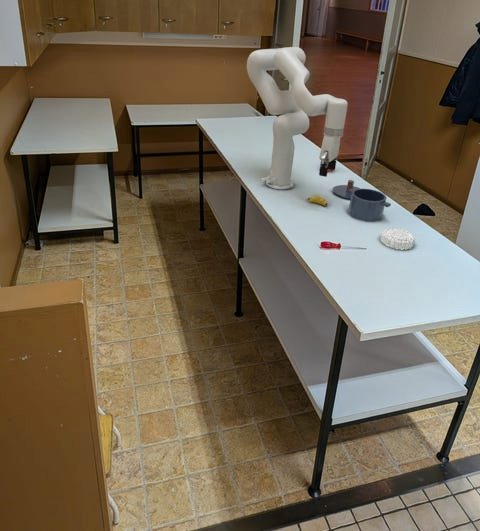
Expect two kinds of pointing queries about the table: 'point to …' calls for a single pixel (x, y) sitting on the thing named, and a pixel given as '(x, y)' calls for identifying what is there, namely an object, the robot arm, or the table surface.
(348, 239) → the table surface
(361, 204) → the pot
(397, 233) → the mooncake
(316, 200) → the yellow segmented pod
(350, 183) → the lid
